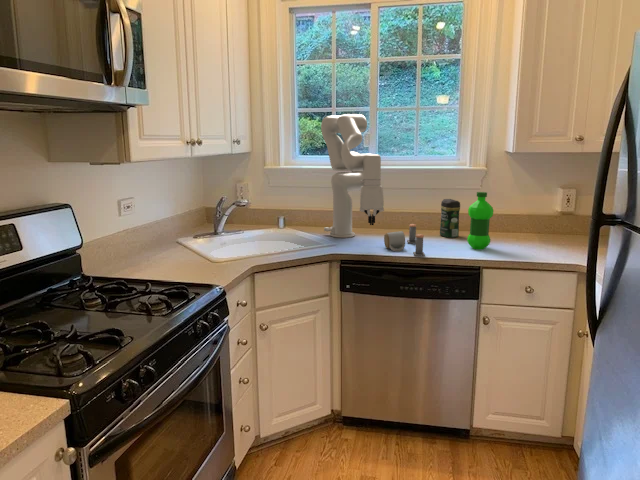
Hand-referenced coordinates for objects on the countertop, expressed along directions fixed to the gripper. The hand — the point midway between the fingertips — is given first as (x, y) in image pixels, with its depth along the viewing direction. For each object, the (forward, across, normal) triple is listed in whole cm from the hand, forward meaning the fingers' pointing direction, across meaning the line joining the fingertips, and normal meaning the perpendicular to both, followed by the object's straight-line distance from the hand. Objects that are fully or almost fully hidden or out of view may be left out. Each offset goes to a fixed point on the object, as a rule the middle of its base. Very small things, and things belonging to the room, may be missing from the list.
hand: (371, 224), depth 219 cm
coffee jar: (+11, +40, +29) cm, 50 cm away
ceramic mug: (+11, +11, 0) cm, 15 cm away
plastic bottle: (+12, +48, +3) cm, 49 cm away
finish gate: (+11, +20, +1) cm, 22 cm away
